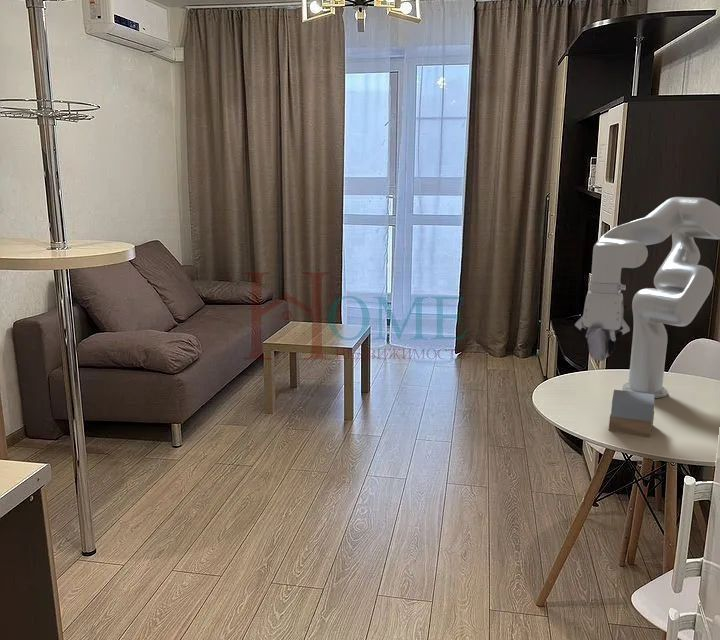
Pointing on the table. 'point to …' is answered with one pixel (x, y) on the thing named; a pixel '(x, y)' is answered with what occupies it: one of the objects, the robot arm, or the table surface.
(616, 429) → the tower base
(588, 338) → the stone block
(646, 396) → the tower top
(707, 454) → the table surface
